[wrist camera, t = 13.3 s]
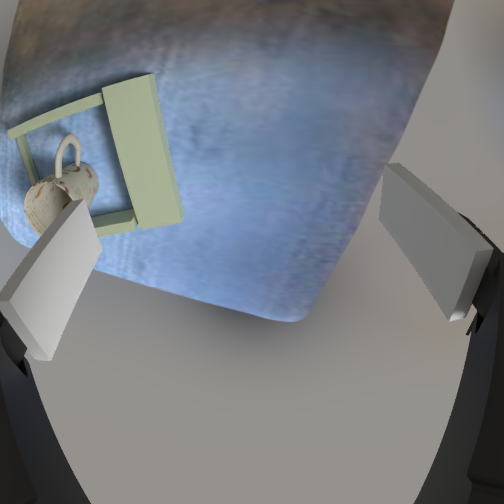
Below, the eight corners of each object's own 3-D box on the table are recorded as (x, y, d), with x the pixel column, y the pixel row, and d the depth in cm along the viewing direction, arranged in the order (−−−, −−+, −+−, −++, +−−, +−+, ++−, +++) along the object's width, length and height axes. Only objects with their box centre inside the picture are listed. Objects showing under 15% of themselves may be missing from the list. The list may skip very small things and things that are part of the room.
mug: (58, 203, 42) (28, 238, 34) (57, 123, 35) (18, 145, 27) (106, 209, 43) (81, 247, 35) (109, 126, 36) (77, 148, 28)
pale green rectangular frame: (16, 122, 34) (1, 129, 30) (154, 73, 33) (145, 75, 30) (56, 236, 45) (46, 249, 42) (184, 212, 45) (180, 226, 41)
